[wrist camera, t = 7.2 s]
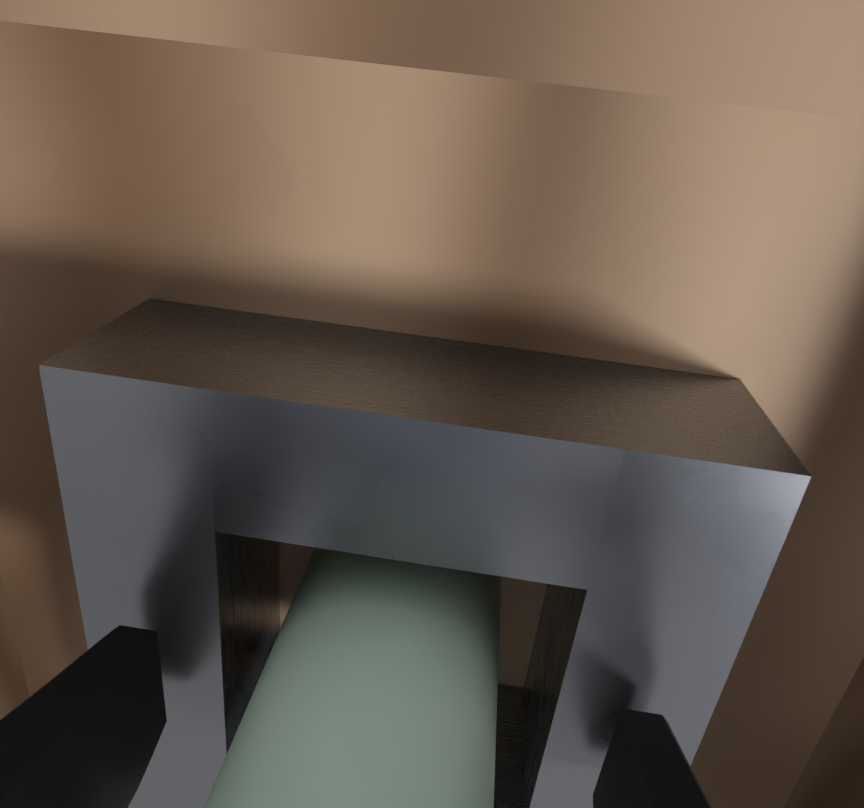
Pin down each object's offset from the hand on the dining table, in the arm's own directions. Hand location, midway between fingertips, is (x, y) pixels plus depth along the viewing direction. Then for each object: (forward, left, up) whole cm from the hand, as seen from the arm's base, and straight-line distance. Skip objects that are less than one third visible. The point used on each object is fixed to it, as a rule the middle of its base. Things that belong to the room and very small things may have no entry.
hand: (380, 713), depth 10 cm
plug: (0, 0, -3) cm, 3 cm away
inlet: (0, 0, -4) cm, 4 cm away
